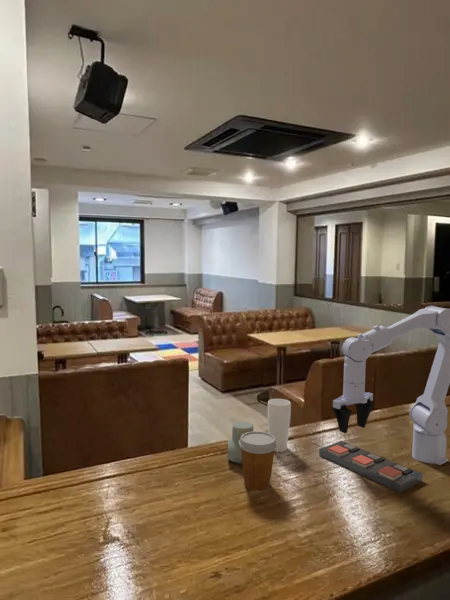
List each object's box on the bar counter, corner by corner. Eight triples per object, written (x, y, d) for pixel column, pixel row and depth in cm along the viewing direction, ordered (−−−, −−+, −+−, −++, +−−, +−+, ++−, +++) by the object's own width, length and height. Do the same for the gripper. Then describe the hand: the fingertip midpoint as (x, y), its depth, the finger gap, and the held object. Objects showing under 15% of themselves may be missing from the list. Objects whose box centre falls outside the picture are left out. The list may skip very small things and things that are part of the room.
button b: (360, 464, 119) (361, 454, 118) (373, 470, 115) (374, 460, 115) (351, 468, 116) (352, 458, 116) (364, 474, 113) (364, 464, 113)
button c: (387, 476, 112) (387, 465, 112) (401, 482, 109) (402, 471, 109) (378, 480, 110) (378, 470, 110) (392, 487, 107) (393, 476, 106)
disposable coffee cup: (255, 471, 116) (256, 427, 115) (283, 484, 109) (285, 438, 108) (229, 483, 109) (230, 437, 108) (258, 498, 103) (259, 449, 102)
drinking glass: (288, 457, 125) (290, 406, 124) (265, 455, 126) (266, 404, 125) (290, 447, 131) (291, 399, 130) (267, 445, 133) (268, 397, 132)
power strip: (322, 442, 136) (323, 431, 135) (421, 484, 110) (422, 471, 110) (300, 450, 130) (301, 439, 129) (399, 497, 104) (400, 483, 104)
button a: (336, 454, 125) (337, 444, 125) (348, 459, 122) (348, 449, 122) (327, 457, 123) (328, 448, 122) (339, 463, 119) (339, 453, 119)
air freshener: (258, 468, 118) (258, 432, 117) (227, 468, 118) (228, 432, 117) (255, 451, 129) (256, 418, 128) (227, 450, 129) (228, 417, 128)
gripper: (348, 388, 113) (346, 439, 114) (383, 381, 121) (380, 428, 122) (327, 382, 119) (326, 430, 120) (362, 375, 127) (360, 420, 128)
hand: (352, 429), depth 122 cm, fingers open, 7 cm apart
